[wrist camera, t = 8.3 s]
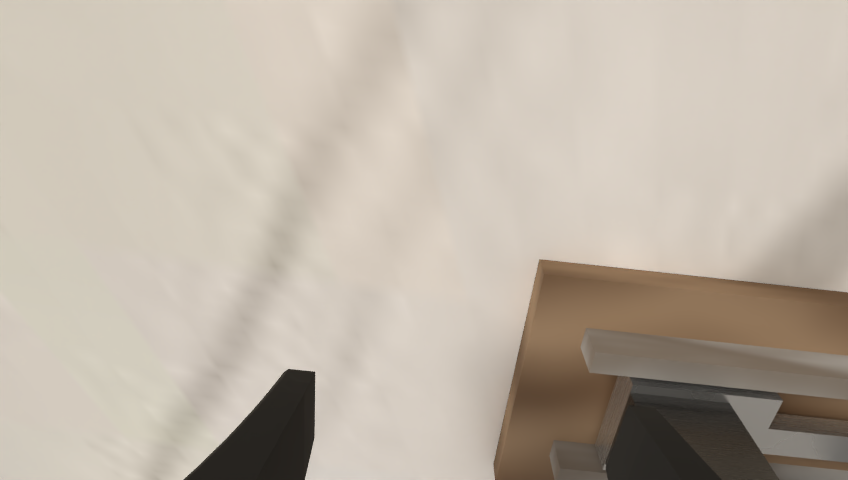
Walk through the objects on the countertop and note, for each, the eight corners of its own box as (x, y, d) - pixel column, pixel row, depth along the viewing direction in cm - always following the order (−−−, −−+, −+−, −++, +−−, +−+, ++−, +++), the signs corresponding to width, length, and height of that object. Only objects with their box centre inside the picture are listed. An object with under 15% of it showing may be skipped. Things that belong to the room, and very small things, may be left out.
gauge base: (859, 502, 28) (962, 634, 22) (493, 463, 28) (504, 587, 22) (993, 308, 22) (1173, 419, 17) (539, 259, 22) (569, 355, 17)
